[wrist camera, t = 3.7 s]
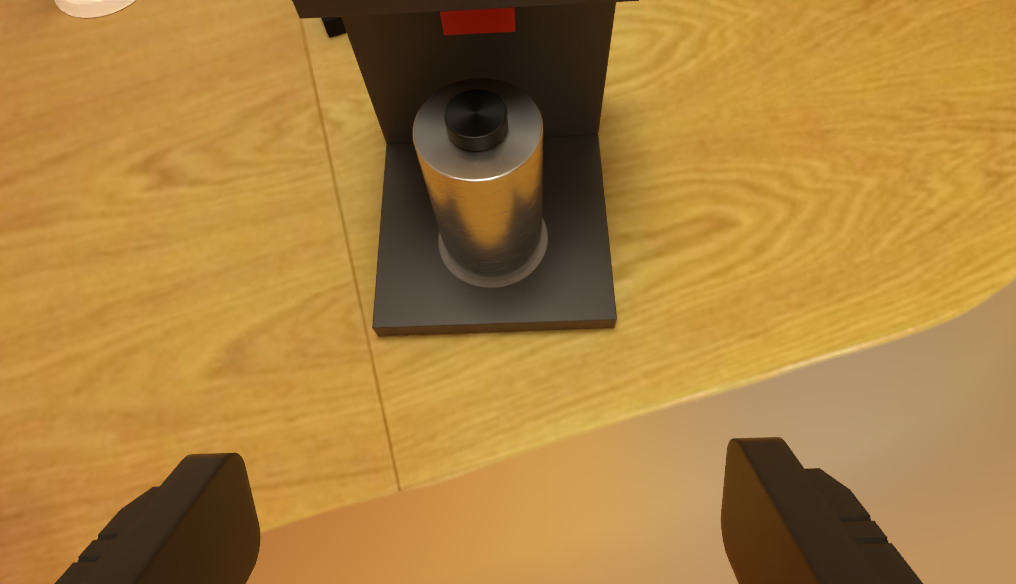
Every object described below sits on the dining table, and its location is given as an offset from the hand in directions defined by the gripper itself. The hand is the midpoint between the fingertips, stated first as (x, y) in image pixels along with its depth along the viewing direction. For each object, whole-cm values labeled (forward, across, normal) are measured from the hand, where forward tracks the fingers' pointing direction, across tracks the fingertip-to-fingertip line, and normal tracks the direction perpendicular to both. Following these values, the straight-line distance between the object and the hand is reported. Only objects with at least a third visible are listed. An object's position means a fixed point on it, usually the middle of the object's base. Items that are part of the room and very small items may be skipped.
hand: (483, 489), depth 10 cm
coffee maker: (+34, +1, +3) cm, 34 cm away
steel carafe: (+30, +1, +4) cm, 30 cm away
